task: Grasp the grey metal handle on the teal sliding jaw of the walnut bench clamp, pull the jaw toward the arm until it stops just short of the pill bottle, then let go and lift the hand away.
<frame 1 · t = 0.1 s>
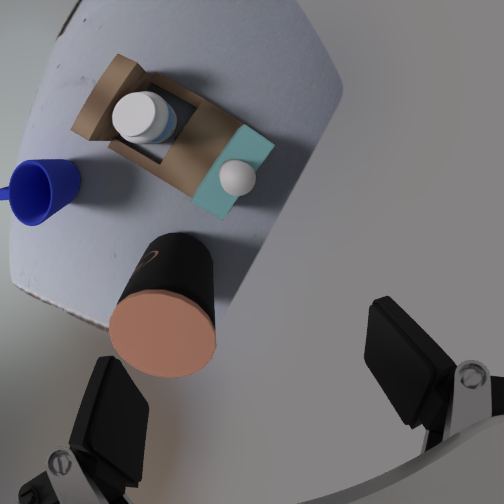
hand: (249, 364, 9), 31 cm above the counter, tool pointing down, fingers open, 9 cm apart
pill bottle: (156, 123, 32), resting in clamp frame
mug: (56, 181, 32), on the counter
clamp frame: (176, 134, 33), on the counter
coffee jar: (178, 263, 40), on the counter
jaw: (232, 172, 28), point 8 cm above the counter, slide at 0.0 cm
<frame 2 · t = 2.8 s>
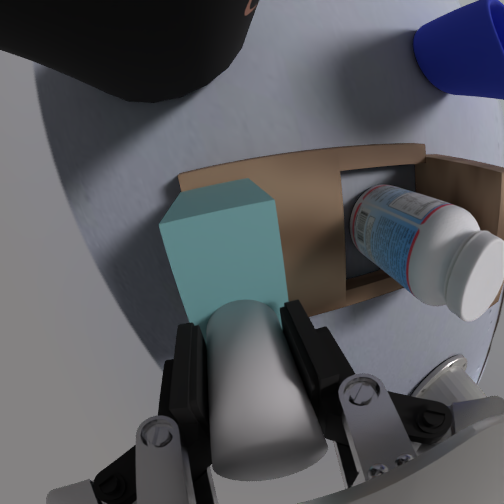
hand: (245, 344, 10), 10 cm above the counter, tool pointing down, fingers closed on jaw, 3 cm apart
pill bottle: (378, 219, 20), resting in clamp frame
mug: (442, 55, 15), on the counter
clamp frame: (341, 228, 20), on the counter
coffee jar: (165, 36, 13), on the counter
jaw: (241, 323, 11), point 8 cm above the counter, slide at 0.0 cm, touching gripper
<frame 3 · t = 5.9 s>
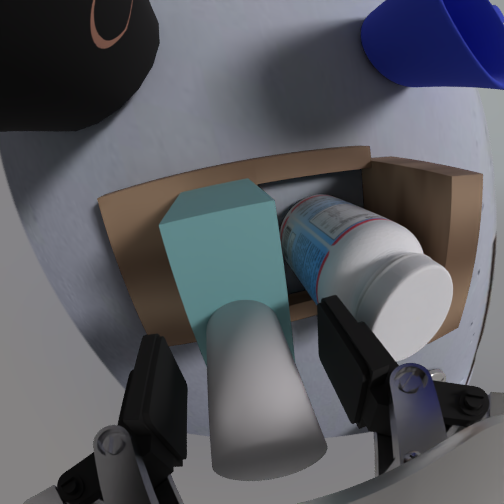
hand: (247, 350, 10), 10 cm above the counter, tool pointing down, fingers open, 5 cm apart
pill bottle: (316, 232, 20), resting in clamp frame, touching gripper
mug: (402, 44, 15), on the counter
clamp frame: (271, 243, 19), on the counter
coffee jar: (91, 62, 13), on the counter
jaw: (241, 323, 11), point 8 cm above the counter, slide at 5.5 cm
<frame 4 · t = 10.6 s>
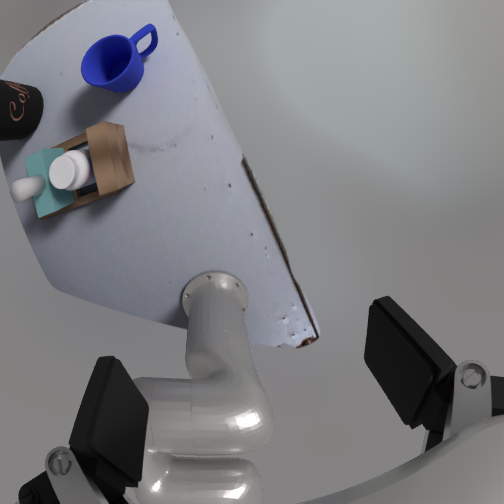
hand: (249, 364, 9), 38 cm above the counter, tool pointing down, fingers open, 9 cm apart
pill bottle: (92, 165, 39), resting in clamp frame
mug: (135, 68, 34), on the counter
clamp frame: (77, 171, 39), on the counter
coffee jar: (27, 113, 32), on the counter
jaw: (40, 183, 31), point 8 cm above the counter, slide at 5.5 cm
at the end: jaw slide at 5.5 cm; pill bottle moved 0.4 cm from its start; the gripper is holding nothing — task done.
